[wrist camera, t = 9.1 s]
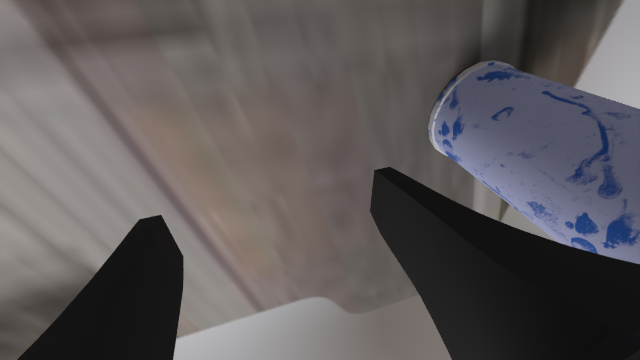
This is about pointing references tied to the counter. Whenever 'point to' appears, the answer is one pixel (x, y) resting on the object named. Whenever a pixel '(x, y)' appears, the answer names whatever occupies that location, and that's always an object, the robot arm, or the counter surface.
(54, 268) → the counter surface
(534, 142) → the aerosol can
